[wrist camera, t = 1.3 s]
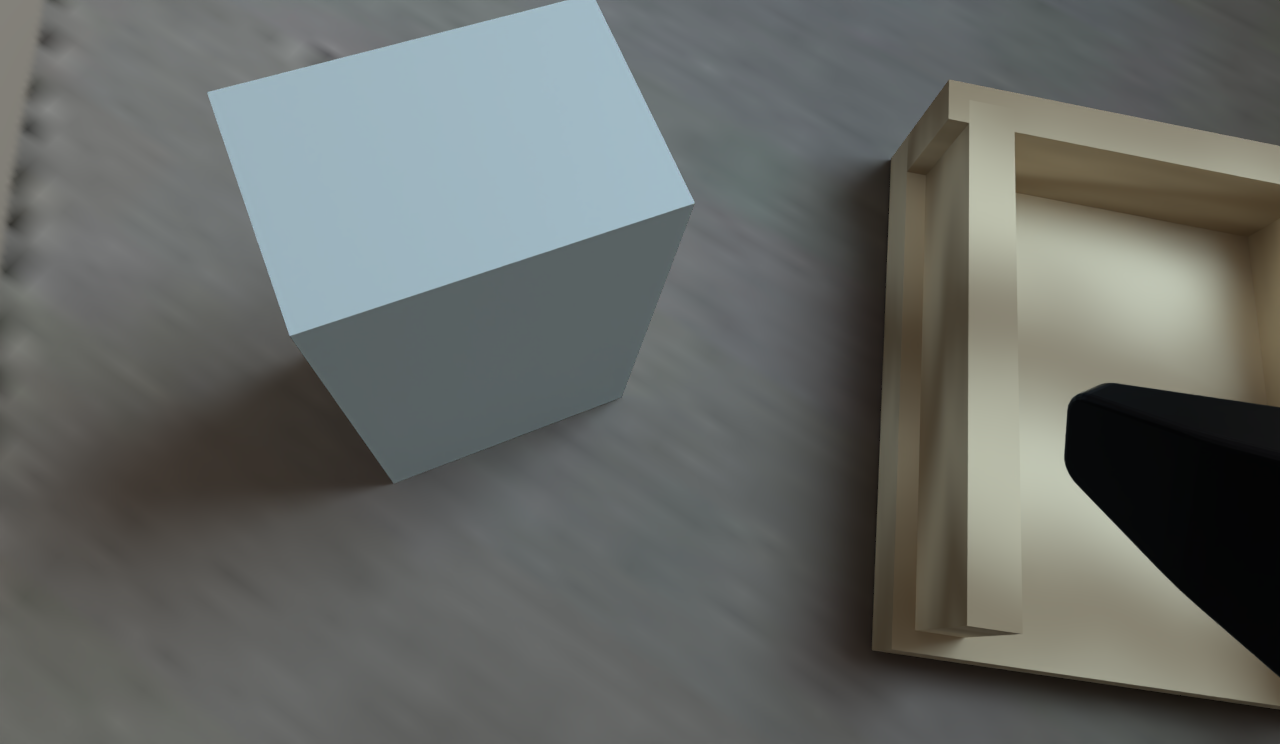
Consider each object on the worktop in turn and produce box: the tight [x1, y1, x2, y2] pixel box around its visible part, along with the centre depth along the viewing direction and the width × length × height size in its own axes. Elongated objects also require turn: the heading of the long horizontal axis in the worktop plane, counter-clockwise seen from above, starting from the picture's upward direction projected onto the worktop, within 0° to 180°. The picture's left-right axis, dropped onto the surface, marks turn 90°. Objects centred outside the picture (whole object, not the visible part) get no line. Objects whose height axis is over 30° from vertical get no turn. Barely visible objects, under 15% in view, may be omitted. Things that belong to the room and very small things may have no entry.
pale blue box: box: [207, 0, 695, 483], centre depth 17 cm, size 4×6×10 cm, turn 113°
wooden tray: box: [872, 80, 1280, 709], centre depth 22 cm, size 14×12×4 cm
